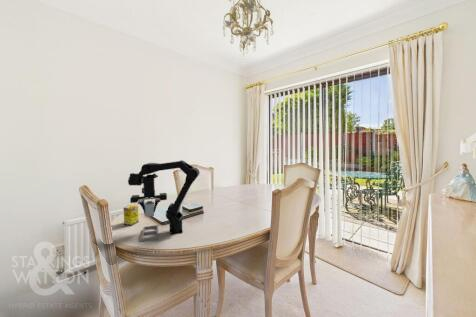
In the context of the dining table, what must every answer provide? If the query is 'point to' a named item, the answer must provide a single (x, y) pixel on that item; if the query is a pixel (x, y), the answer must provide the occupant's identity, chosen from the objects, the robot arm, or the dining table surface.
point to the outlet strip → (149, 233)
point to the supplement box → (131, 215)
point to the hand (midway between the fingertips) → (149, 212)
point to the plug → (149, 208)
